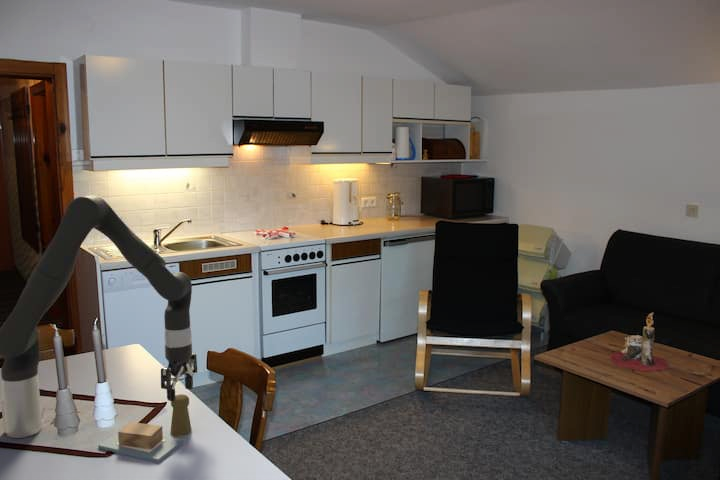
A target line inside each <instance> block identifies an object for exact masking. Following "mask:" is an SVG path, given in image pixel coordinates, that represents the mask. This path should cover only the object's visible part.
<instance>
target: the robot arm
mask: <svg viewBox="0 0 720 480" xmlns="http://www.w3.org/2000/svg"><path fill="white" fill-rule="evenodd" d="M93 229H95V230H97V231H98V232H99V233H101V234H102V235H104V236H105V237H107V238H108V239H109V240H110V241H111V243H113V244H114V246H115V247H116V248H117V249H118V251H119V253H120V254H121V255H122V256H123V258H124V259H125V260H126V261H127V262H128V263H129V264H130V265H131V266H132V267H133V268H134V269H135V270H137V272H139V273H140V274H141V275H143V276H144V277H145V278H146V279H147V281H148V282H149V284H150V285H151V286H152V287H153V289H154V290H155V291H156V293H158V295H159V296H160V297H162V299H165V300H166V301H167V306H166V308H165V309H164V315H163V317H164V334H163V335H164V336H163V337H164V338H163V339H164V357H165V359H166V360H167V362H168V366H167V367H161V368H160V388H161V390H162V389H163V390H166V399H167V401H170V402H171V401H175V396H176V388H175V387H176V384H177V383H178V382H179V380H180V378H181V377H183V375H184V387H185V389H186V390H189V391H190V390H192V389H193V388H194V379H193V378H194V376H195V374H196V373H198V361H197V354H196V353H193V342H192V341H193V340H192V329H191V316H190V315H191V314H190V313H191V312H190V307H191V301H192V293H193V292H192V291H193V285H192V281H191V278H190V277H189V275H187V274H186V273H185V272H181V271H176V272H173V273H172V272H171V271H170V270H169V269H168V268H167V267H166V266H167V265H166V261H165V259H164V258H163V257H162V256H160V254H158V253H157V252H156V251H155V250H154V249H153V248H152V247H150V246H149V245H148V244H147V243H145V241H143V240H142V239H141V238H140V237H139V236H138V235H137V234H136V233H135V232H134V231H132V229H130V227H129V226H128V225H127V224H125V222H124V221H123V220H122V219H121V218H120V217H119V215H118V214H117V213H116V211H114V209H113V208H112V207H111V205H109V204H108V202H107V201H106V200H105V199H104V198H103V197H101V196H99V195H94V194H89V195H80V196H77V197H75V198H73V199H72V200H71V201H70V203H68V205H67V207H66V209H65V211H64V214H63V216H62V218H61V221H60V224H59V226H58V228H57V230H56V232H55V234H54V237H53V238H52V239H51V241H50V243H49V244H48V245H47V247H46V249H45V251H44V252H43V254H42V256H41V258H40V259H39V261H38V263H37V264H36V266H35V267H34V269H33V271H32V273H31V275H30V276H29V279H28V280H27V283H26V284H25V287H24V288H23V290H22V291H21V294H20V297H19V298H18V301H17V302H16V305H15V306H14V309H12V311H11V313H10V314H9V316H8V317H7V319H6V320H5V322H4V323H3V324H2V326H1V327H0V357H1V358H4V362H3V364H2V367H1V369H0V374H1V375H0V376H1V384H2V385H1V387H2V395H3V396H2V398H3V400H2V401H1V404H0V405H1V415H2V426H3V433H5V434H6V436H7V437H9V438H12V439H21V438H22V439H23V438H27V437H31V436H33V435H36V434H37V433H40V431H42V430H43V429H42V428H43V423H42V421H43V420H42V410H41V396H40V385H39V384H40V383H39V382H40V381H39V364H40V338H39V337H40V336H39V330H38V327H37V326H38V324H39V322H41V319H42V318H43V316H44V315H45V314H46V312H48V311H49V309H50V308H51V307H52V306H53V305H54V303H55V302H56V301H57V299H58V298H59V297H60V295H61V294H62V293H63V292H64V290H65V288H66V287H67V285H68V283H69V281H70V279H71V277H72V275H73V273H74V271H75V270H74V269H75V267H76V263H77V262H76V261H77V257H78V252H79V250H80V248H81V246H82V244H83V243H84V241H85V240H86V238H87V237H88V236H89V233H90V232H92V230H93ZM192 366H193V367H192Z"/></svg>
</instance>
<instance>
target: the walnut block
mask: <svg viewBox="0 0 720 480" xmlns="http://www.w3.org/2000/svg"><path fill="white" fill-rule="evenodd" d="M117 433H118V439H119V445H121V446H129V447H136V448H144V449H153V448H154V447H155V446H156V445H157V444H158V443H159V442H160V441H161V440H162V439H163V436H164V435H163V425H156V424H150V423H140V422H133V421H132V422H131V421H129V422H128V423H127V424H126V425H124V426H123V427H122V428H121V429H120V430H118V431H117Z"/></svg>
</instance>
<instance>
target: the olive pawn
mask: <svg viewBox="0 0 720 480" xmlns="http://www.w3.org/2000/svg"><path fill="white" fill-rule="evenodd" d="M189 404H190V398H189V396H188V395H186V394H180V393H179V394H175V401H170V406H171V407H172V415H171V424H170V426H171V427H170V434H171V435H172V436H174V437H183V436H187V435H189V434H191V432H192V425H191V419H190V418H191V417H190V413H189V408H188V407H189Z"/></svg>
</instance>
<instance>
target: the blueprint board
mask: <svg viewBox="0 0 720 480" xmlns="http://www.w3.org/2000/svg"><path fill="white" fill-rule="evenodd" d="M183 444H184V440H182V439H179V438H174V437H169V436H164V435H163V439H162V440H161V441H160V442H159V443H158V444H157V445H156V446H155V447H154V448H153V449H144V448H136V447H129V446H121V445H119V439H118V432H117V433H115V434H114V435H112V436H110V437H109V438H108V439H105V440H104V441H103V442H101V443H100V444H97V445H98V449H99V448H100V449H99V450H103V449H104V451H107V450H109V451H108V452H111V451H112V452H111V453H116V454H120V455H125V456H129V457H131V458H132V457H133V458H137V459H141V460H146V461H151V462H153V463H157V464H159V463H160V462H162V461H164V459H165V458H167V457H168V456H170V455H171V454H172V453H173V452H175V450H177V449H178V448H180V447H181V446H182V445H183Z"/></svg>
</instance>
